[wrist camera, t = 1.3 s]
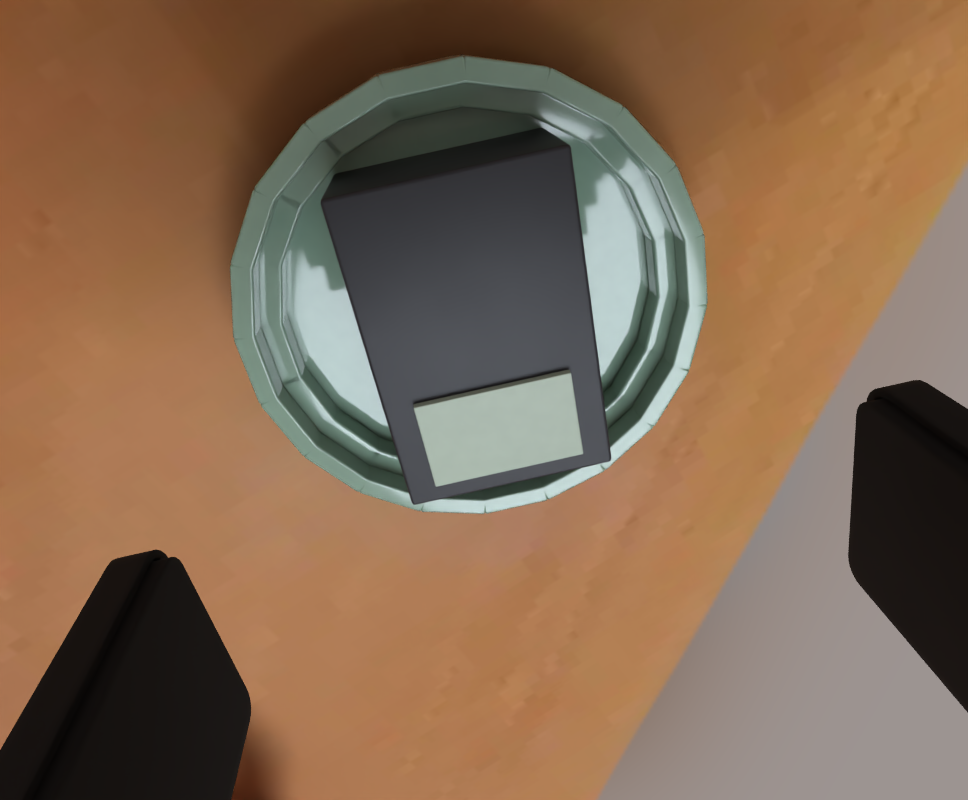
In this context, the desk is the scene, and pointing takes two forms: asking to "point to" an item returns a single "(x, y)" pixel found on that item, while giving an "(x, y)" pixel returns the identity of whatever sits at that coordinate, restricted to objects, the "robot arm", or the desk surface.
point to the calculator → (474, 311)
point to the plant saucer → (432, 127)
